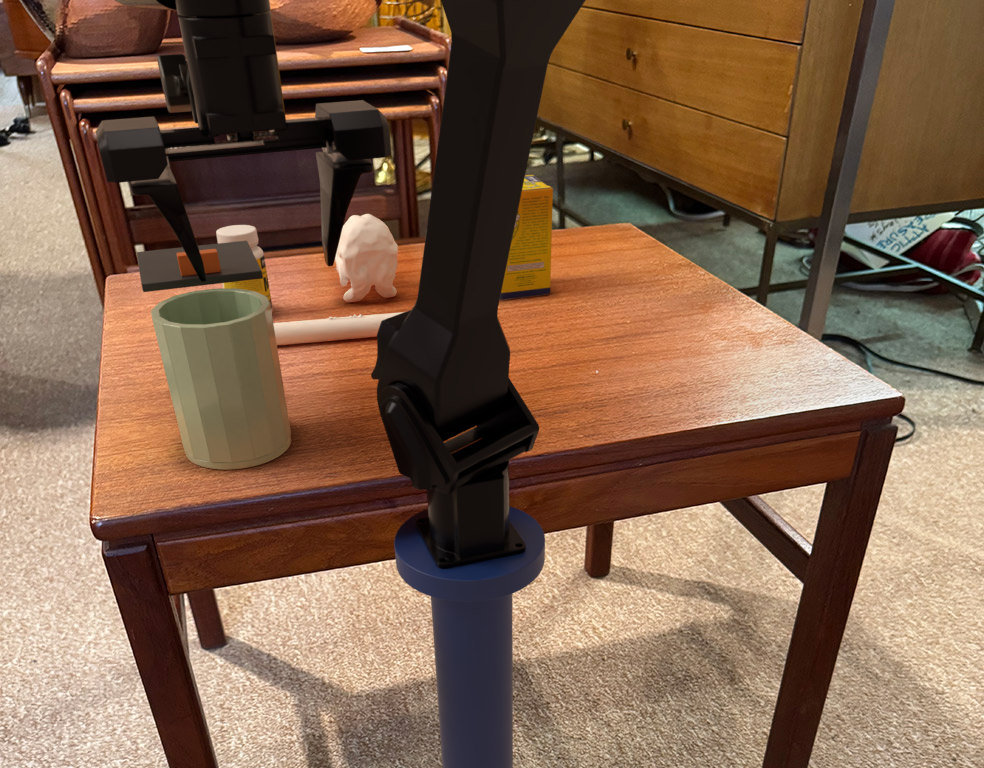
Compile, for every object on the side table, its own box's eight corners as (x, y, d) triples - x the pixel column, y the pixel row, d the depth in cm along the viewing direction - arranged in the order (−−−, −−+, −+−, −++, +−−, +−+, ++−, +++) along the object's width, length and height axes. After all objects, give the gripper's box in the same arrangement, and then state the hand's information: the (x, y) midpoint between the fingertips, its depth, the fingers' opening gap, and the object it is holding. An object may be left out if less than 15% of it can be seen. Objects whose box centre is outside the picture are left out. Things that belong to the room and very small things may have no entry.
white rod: (442, 326, 95) (441, 303, 94) (445, 333, 94) (444, 310, 92) (263, 342, 93) (259, 318, 91) (263, 350, 91) (259, 325, 90)
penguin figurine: (337, 221, 94) (316, 206, 104) (348, 309, 99) (327, 287, 108) (398, 215, 96) (372, 200, 105) (406, 302, 100) (380, 280, 110)
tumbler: (299, 459, 73) (277, 317, 66) (189, 477, 71) (154, 333, 64) (282, 416, 79) (260, 282, 72) (181, 431, 77) (148, 296, 70)
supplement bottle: (278, 317, 98) (265, 232, 93) (234, 324, 97) (217, 238, 91) (266, 303, 102) (253, 221, 96) (223, 310, 100) (207, 227, 95)
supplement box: (483, 284, 105) (481, 178, 99) (533, 279, 107) (534, 173, 100) (499, 301, 101) (498, 191, 94) (551, 295, 102) (554, 186, 96)
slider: (263, 278, 73) (258, 250, 71) (143, 292, 70) (136, 263, 69) (248, 247, 79) (243, 221, 78) (138, 259, 77) (131, 232, 76)
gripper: (342, -2, 67) (365, 231, 77) (66, 12, 62) (128, 258, 72) (382, 9, 59) (402, 268, 68) (67, 26, 54) (137, 302, 64)
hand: (267, 272), depth 68 cm, fingers open, 9 cm apart
